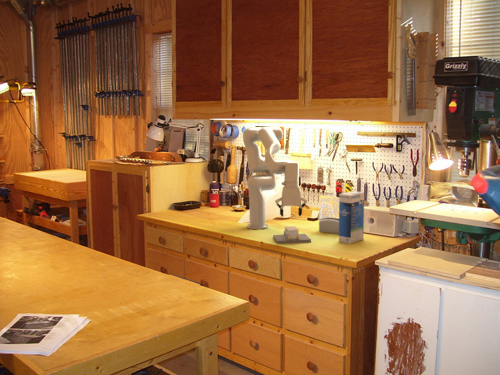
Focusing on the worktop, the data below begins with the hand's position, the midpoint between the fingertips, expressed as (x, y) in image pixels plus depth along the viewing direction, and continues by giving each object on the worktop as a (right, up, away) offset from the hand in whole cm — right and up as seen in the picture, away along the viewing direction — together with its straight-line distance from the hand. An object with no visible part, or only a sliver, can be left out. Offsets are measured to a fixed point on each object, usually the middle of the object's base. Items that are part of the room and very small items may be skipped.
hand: (290, 215), depth 275 cm
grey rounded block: (+26, -11, +19) cm, 34 cm away
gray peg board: (+1, -13, +1) cm, 13 cm away
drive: (0, -12, +1) cm, 12 cm away
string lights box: (+32, -13, -2) cm, 35 cm away
